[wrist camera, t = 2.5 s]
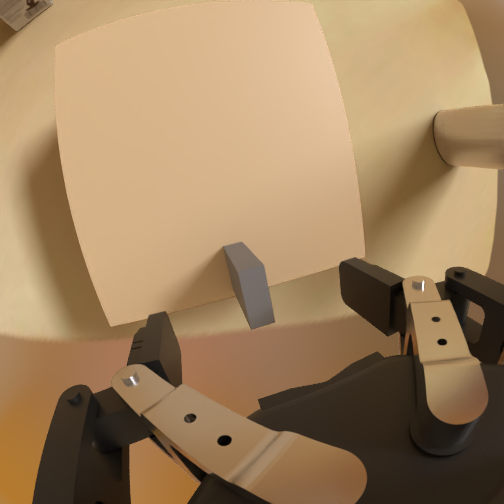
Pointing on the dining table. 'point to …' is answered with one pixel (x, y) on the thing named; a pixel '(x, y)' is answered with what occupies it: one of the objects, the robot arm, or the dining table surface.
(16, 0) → the coffee box
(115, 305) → the carton lid
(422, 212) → the dining table surface
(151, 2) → the dining table surface
